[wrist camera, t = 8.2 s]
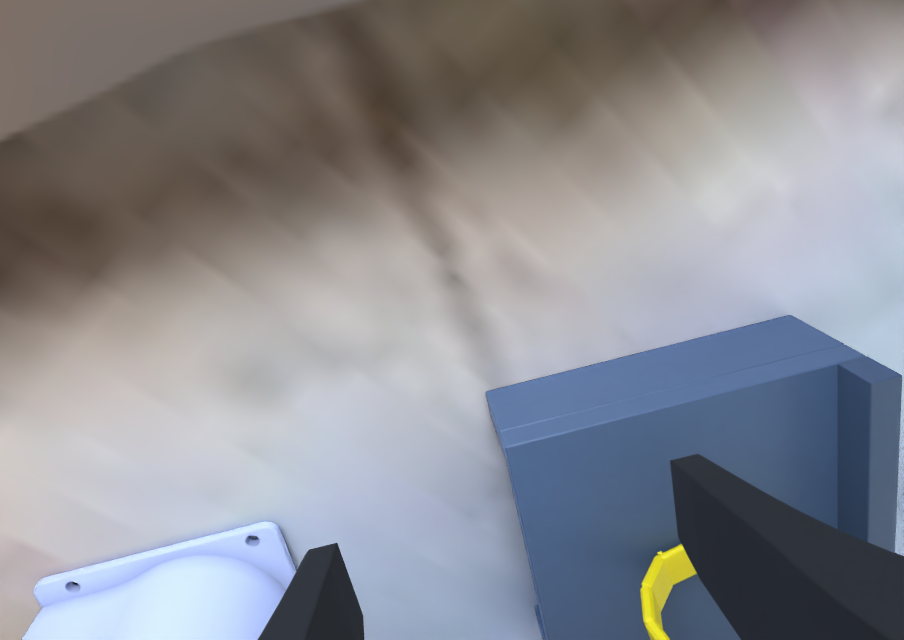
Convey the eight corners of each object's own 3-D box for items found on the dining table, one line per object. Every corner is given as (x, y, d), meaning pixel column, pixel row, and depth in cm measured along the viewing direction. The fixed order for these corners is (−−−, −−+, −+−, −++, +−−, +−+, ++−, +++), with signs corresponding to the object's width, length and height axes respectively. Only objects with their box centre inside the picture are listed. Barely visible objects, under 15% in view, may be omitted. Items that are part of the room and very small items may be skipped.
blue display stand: (538, 626, 28) (574, 746, 23) (485, 391, 24) (514, 474, 18) (797, 558, 28) (890, 662, 23) (790, 313, 24) (902, 375, 19)
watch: (631, 606, 23) (712, 773, 17) (609, 550, 22) (688, 708, 16) (787, 544, 23) (920, 692, 17) (772, 485, 22) (909, 622, 16)
